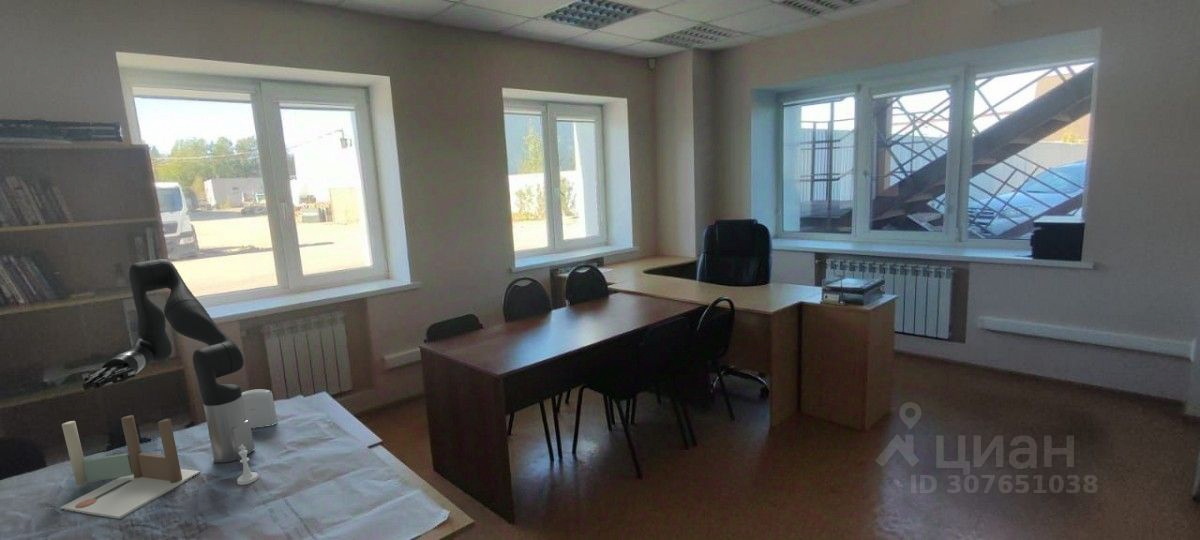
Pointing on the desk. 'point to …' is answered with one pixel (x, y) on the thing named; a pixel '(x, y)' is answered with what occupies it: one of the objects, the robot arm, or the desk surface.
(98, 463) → the l-shaped bracket
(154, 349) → the robot arm
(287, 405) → the desk surface
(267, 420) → the photo printer
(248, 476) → the chess piece
